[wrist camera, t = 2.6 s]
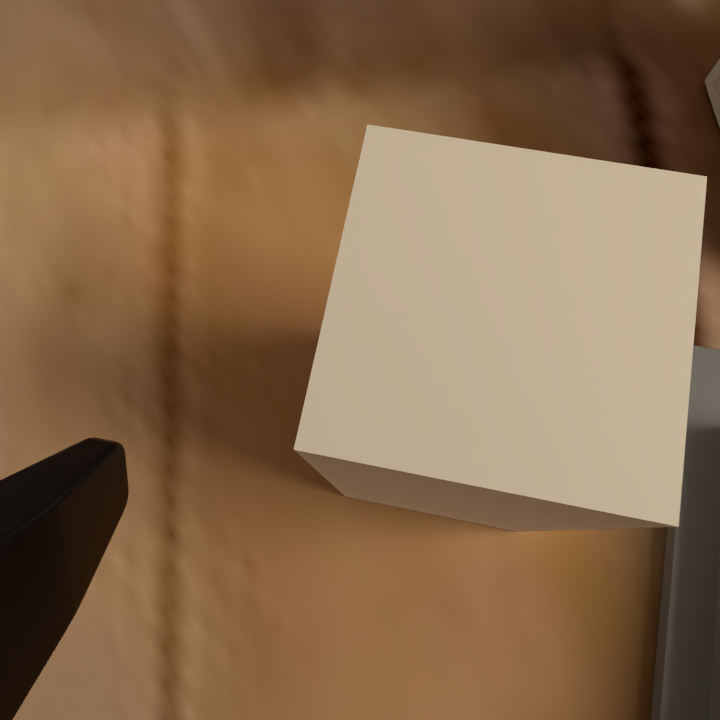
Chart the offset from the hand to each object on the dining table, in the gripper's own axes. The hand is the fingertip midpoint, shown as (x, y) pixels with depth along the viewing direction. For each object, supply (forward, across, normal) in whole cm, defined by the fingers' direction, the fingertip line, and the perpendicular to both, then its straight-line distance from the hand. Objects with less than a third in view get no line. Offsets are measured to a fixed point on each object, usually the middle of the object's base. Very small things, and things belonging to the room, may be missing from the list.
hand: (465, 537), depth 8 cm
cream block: (+10, 0, +6) cm, 12 cm away
